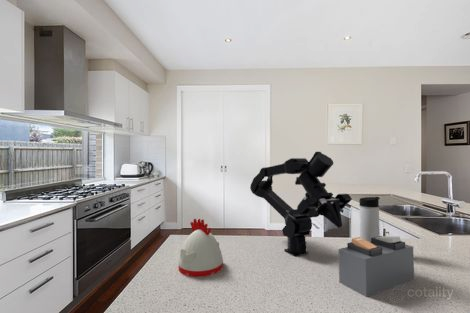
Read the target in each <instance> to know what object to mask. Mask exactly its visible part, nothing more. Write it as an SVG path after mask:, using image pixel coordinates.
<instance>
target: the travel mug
mask: <svg viewBox="0 0 470 313" xmlns="http://www.w3.org/2000/svg"><path fill="white" fill-rule="evenodd" d="M358 200H359V206H358V207H359V237H361V238H363V239H365V240H366V241H368V242H371V238H373V237H378V236H381V234H380V206H379V200H380V197H379V196H375V197H374V196H369V197H368V196H367V197H360V198H359V199H358Z"/></svg>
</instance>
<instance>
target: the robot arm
mask: <svg viewBox="0 0 470 313" xmlns="http://www.w3.org/2000/svg"><path fill="white" fill-rule="evenodd" d="M332 166H334V161H333V159H332V157H329V156H327V155H326V154H324V153H322V152H321V151H315V152H314V154H313V156H312V157H311V159H310V160H308V159H307V158H305V157H302V158H301V157H300V158H299V157H298V158H297V157H296V158H295V157H292V158H291V157H290V158H289V159H287V160H285V161H284V162H283V163H281V164H277V165H272V166H266V167H261V168H260V169H259V172H258V173H257V175H255V177H253V179H252V181H251V183H250V188H249V189H250V191H251V193H252V194H253V195H255V196H256V197H258V198H262V199H264V200H265V201H266V202H267V203H268V205H270V206H271V207H272V208H273V210H275V211H276V212H277V213H278V214H279V215H280V216H281V217H282V218H283V219H284V224H285V226H283V228H282V229H281V231H282V236H285V237H287V248H284V252H285V253H288V254H290V255H291V256H294V257H299V256H303V255H306V254H307V255H308V254H310V251H309V250H307V241H306V236H309V235H310V233H311V229H312V228H313V222H312V221H313V220H312V219H311V218H318V217H319V216H323V217H324V218H325V219H327V220H328V221H329V222H330V223H332V224H333V225H335V226H336V227H337V228H338V229H340V228H342V227H343V222H342V215H341V210H344V208H346V206H347V205H348V204H349V203H350V202H351V201H352V200H353V198H352V197H351V196H350V195H349V194H348V193H338V194H337V195H336V196H335V197H333V196H334V195H333V193H332V192H328V190H327V189H326V188H325V187H326V186H327V184H326V183H325V182H321V181H320V179H319V178H323V177H324V176H325V174H327V172H328V171H329V170H330V169H331V168H332ZM285 174H287V175H299V176H296V178H295V181H294V184H295V185H297V186H298V185H299V186H302V187H303V189H304V191H305V192H306V193H305V194H304V197H303V198H302V200H301V201H300V202H299V203H298V205H297V207H296V209H294V208H293V207H292V206H290V205H289V204H288V203H287V202H286V201H285V200H284V199H283V198H281V197H280V196H279V195H278V194H277V193H276V192H274V191H273V186H272V185H273V183H274V181H273V177H274V176H279V175H280V176H281V175H285ZM265 178H267V179H266V180H264V179H265ZM332 197H333V198H332Z"/></svg>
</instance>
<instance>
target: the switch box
mask: <svg viewBox="0 0 470 313" xmlns="http://www.w3.org/2000/svg"><path fill="white" fill-rule="evenodd" d="M381 236H382V235H380V236H378V237H381ZM375 238H376V237H373V238H371V242H370V243H372V244H373V245H375V246H377V249H372V250H368V249H365V248H362V247H359V246H356V245H355V244H353V243H351V242H352V241H350V242H347V244H346V247H341V248H338V276H339V279H338V282H339V283H340V284H342V285H343V286H345V287H347V288H349V289H350V290H352V291H354V292H357V293H359V294H361V295H363V296H364V297H369V295H370V296H372V295H376V294H378V293H380V292H382V291H385V290H389V289H391V288H394V287H396V286H400V285H402V284H405V283H408V282H410V281H413V280H415V264H414V262H415V261H414V260H415V259H414V246H412V245H409V244H406V241H399V242H395V243H388V242H385V241H382V240H378V239H375Z"/></svg>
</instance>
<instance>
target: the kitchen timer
mask: <svg viewBox="0 0 470 313" xmlns="http://www.w3.org/2000/svg"><path fill="white" fill-rule="evenodd" d="M189 224H190V226H191V229H192V233H189V235H188V237H187V238H186V239H185V241H184V243H183V244H182V247H181V249H180V251H179V252H180V253H179V257H178V271H179V272H180V273H181V274H182V275H183V276H187V277H193V278H195V277H196V278H197V277H198V278H200V277H201V278H203V277H208V276H212V275H214V274H217V273H219V272H221V270H223V266H224V260H223V254H222V251H221V250H222V249H221V248H220V242H219V241H217V238H215V236H214V235H213V234H212V233H211V230H212V227H209V228H208V223H205V219H201V218H199V219H196V218H193V221H190V223H189Z"/></svg>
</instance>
